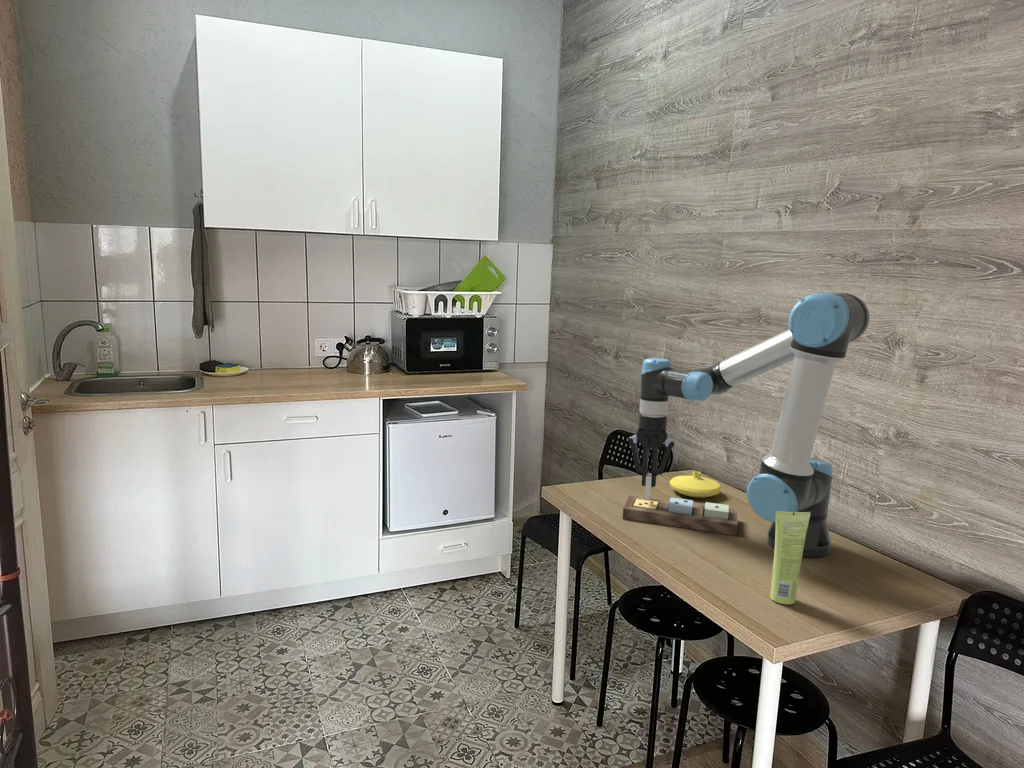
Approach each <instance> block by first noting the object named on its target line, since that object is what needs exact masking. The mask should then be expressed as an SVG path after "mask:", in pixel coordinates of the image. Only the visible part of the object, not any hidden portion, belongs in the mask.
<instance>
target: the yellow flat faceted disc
mask: <svg viewBox="0 0 1024 768" xmlns="http://www.w3.org/2000/svg"><path fill="white" fill-rule="evenodd" d="M669 485H670V487H671V489H673V490H674V491H675V492H677V493H679V494H681V495H684V496H686V497H691V498H702V499H705V498H709V497H710V498H711V497H714V496H718V495H719V494H720V493H721V491H722V485H721V484H720V483H719V482H717V481H716V480H715V479H711V478H709V477H704V476H701V472H700V471H698V470H697V471H696V470H693V471H692V475H677V476H673V477H672V478H671V479H670V480H669Z"/></svg>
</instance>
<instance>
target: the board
mask: <svg viewBox="0 0 1024 768" xmlns="http://www.w3.org/2000/svg"><path fill="white" fill-rule="evenodd" d="M636 499H641V500H648V501H656V502H658V509H657V510H653V509H646V508H638V507H633V505H634V503H635V500H636ZM669 501H670V500H667V499H666V500H665V499H658V498H650V499H645V496H644V497H642V496H635V495H628V497H627V498H626V502H625V503H624V506H623V509H622V519H623V520H627V519H628V520H629V521H634V520H636V521H635V522H641V521H643V522H644V523H648V522H649V523H648V524H656V525H662V526H670V527H677V528H683V529H690V530H698V531H704V532H712V533H718V534H724V535H732V536H737V534H738V525H739V524H738V511H737V509H734V508H733V509H731V508H729V514H728V520H724V519H717V518H710V517H704V511H705V505H702V504H696V503H693V507H692V515H688V514H681V513H674V512H668V507H669Z"/></svg>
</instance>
